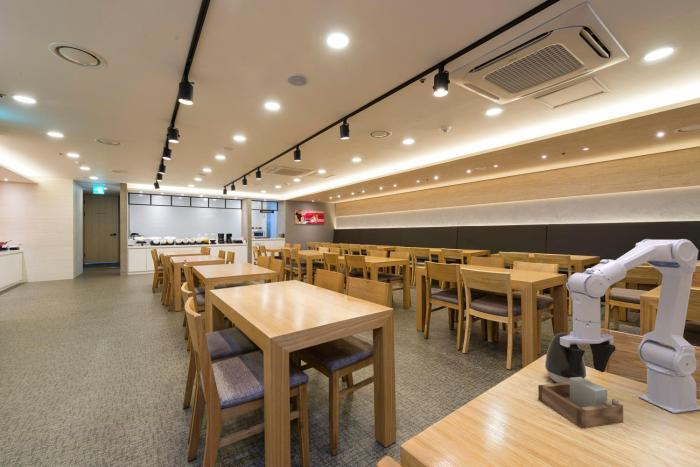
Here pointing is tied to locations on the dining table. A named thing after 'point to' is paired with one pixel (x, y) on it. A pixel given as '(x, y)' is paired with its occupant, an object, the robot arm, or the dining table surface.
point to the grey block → (586, 392)
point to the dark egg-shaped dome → (560, 362)
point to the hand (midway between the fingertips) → (587, 371)
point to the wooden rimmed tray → (581, 416)
